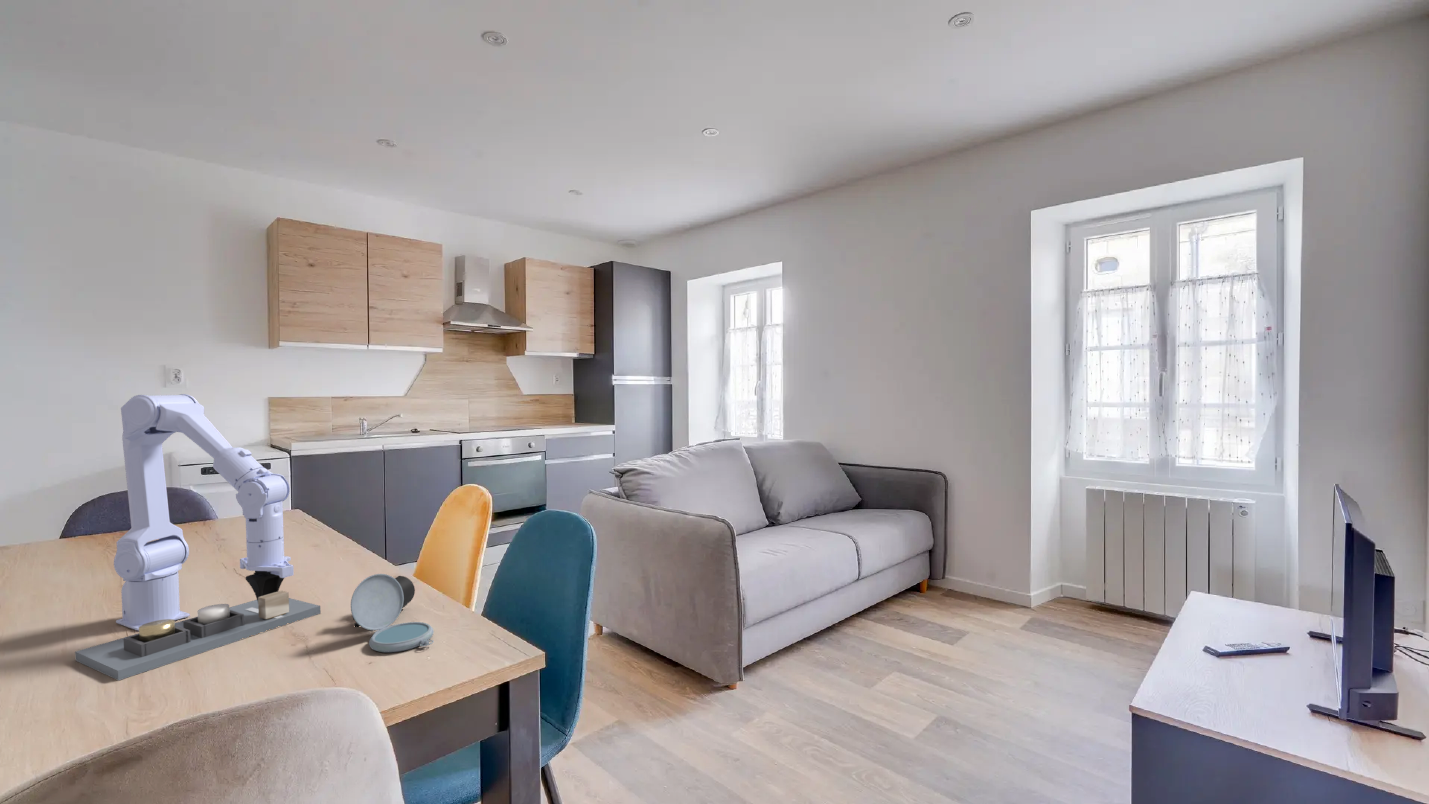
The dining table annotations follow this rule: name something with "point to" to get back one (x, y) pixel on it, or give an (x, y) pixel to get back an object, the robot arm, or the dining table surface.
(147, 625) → the brass button
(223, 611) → the white button
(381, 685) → the dining table surface
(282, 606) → the frosted cream block
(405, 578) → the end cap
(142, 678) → the dining table surface
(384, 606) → the pocket watch
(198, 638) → the panel
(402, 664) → the dining table surface
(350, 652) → the dining table surface
